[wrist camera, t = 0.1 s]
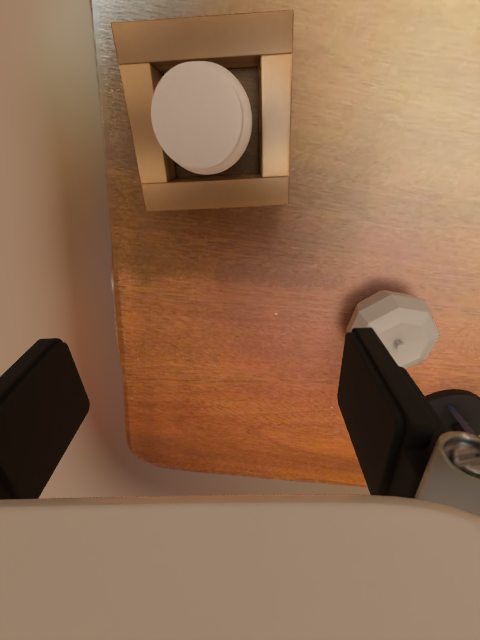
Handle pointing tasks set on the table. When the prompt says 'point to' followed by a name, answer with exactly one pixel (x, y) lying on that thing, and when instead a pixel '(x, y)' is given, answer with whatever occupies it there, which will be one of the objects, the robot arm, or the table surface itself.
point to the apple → (398, 325)
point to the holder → (230, 52)
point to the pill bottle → (201, 117)
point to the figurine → (457, 410)
